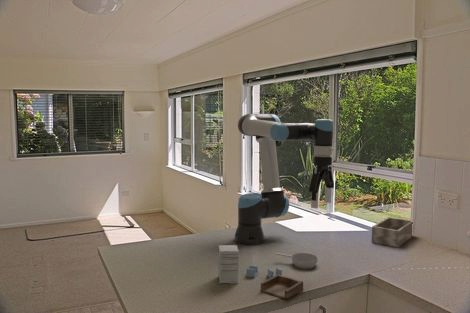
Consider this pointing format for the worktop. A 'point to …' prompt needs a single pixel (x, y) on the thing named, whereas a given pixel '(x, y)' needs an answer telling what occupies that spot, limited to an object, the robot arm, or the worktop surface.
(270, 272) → the clip
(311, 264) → the saucepan
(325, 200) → the robot arm
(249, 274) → the clip
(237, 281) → the supplement box
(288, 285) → the wooden tray
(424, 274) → the worktop surface
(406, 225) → the box
